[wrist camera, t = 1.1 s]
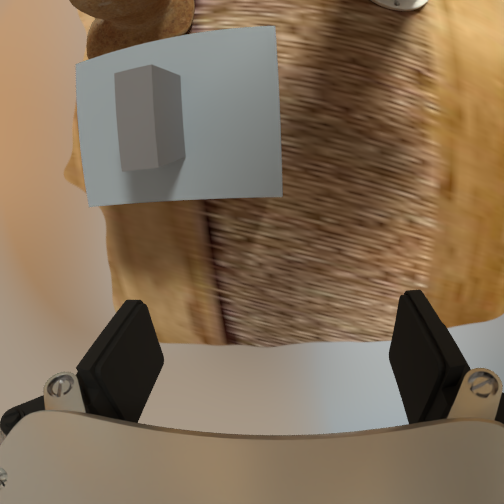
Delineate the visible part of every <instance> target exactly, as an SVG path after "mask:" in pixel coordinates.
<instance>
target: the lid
mask: <svg viewBox="0 0 504 504" xmlns="http://www.w3.org/2000/svg"><path fill="white" fill-rule="evenodd" d="M76 96H77V114H78V127H79V138H80V148H81V157H82V165H83V172H84V179H85V186H86V192H87V198H88V204H89V207H93V206H106V205H118V204H131V203H145V202H160V201H177V200H197V199H221V198H255V197H283V188H282V152H281V125H280V101H279V81H278V62H277V46H276V30H275V26H260V27H245V28H233V29H223V30H215V31H207V32H200V33H194V34H188V35H182V36H176V37H171V38H166V39H161V40H157V41H152V42H148V43H144V44H140V45H136V46H132V47H128V48H124V49H121V50H117V51H114V52H111V53H107V54H104V55H101V56H98V57H95V58H92V59H89V60H86V61H83V62H80V63H78V64H76Z"/></svg>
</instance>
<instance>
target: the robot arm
mask: <svg viewBox="0 0 504 504" xmlns="http://www.w3.org/2000/svg"><path fill="white" fill-rule="evenodd" d="M371 1H372V2H374V3H376V4H378V5H380V6H383V7H385V8H388V9H392V10H396V11H412V10H415V9H418V8H420V7H422V6H423V5H424V4H426V3H427V2H428V1H429V0H371ZM394 4H395V5H396V6H395V5H394ZM389 360H390V364H391V366H392V370H393V373H394V375H395V378H396V382H397V385H398V388H399V391H400V395H401V398H402V401H403V404H404V408H405V411H406V415H407V418H408V422H409V424H408V425H402V426H395V427H388V428H380V429H372V430H363V431H354V432H343V433H331V434H317V435H316V434H315V435H238V434H221V433H210V432H199V431H189V430H181V429H173V428H165V427H158V426H152V425H146V424H140V423H138V420H139V418H140V416H141V413H142V411H143V409H144V407H145V404H146V402H147V400H148V397H149V395H150V393H151V391H152V388H153V386H154V384H155V382H156V380H157V377H158V375H159V373H160V371H161V369H162V366H163V364H164V357H163V353H162V351H161V347H160V345H159V342H158V339H157V336H156V333H155V329H154V326H153V323H152V320H151V317H150V314H149V310H148V307H147V305H146V304H143V302H142V301H141V300H126V301H125V302H124V304H123V305H122V306H121V308H120V309H119V310H118V311H117V313H116V314H115V315H114V317H113V318H112V319H111V321H110V322H109V323H108V325H107V326H106V327H105V329H104V330H103V331H102V333H101V334H100V335H99V337H98V338H97V339H96V341H95V342H94V343H93V345H92V346H91V348H90V349H89V350H88V352H87V353H86V354H85V356H84V357H83V359H82V360H81V361H80V363H79V364H78V366H77V367H76V369H77V370H78V373H77V374H76V375H74V374H73V373H71V372H61V373H58V374H55V375H54V376H52V377H51V378H49V380H48V381H47V382H46V384H45V386H44V391H43V392H44V395H43V396H40V397H38V398H36V399H34V400H31V401H28V402H26V403H23V404H21V405H18V406H15V407H13V408H11V409H9V410H8V411H6V412H5V413H4V415H3V416H2V418H1V421H0V504H504V393H502V387H503V385H502V382H501V380H500V378H499V377H498V375H497V374H495V373H494V372H493V371H491V370H489V369H485V368H475V369H472V370H471V369H470V367H469V366H468V364H467V362H466V360H465V358H464V357H463V355H462V353H461V351H460V350H459V348H458V346H457V344H456V343H455V341H454V339H453V338H452V336H451V334H450V333H449V331H448V329H447V328H446V326H445V325H444V324H443V323H442V322H441V320H440V319H439V317H438V315H437V314H436V312H435V311H434V309H433V308H432V306H431V304H430V303H429V301H428V300H427V298H426V297H425V295H424V294H423V292H422V291H421V290H410V291H405V293H404V295H401V296H400V298H399V304H398V310H397V315H396V321H395V326H394V331H393V336H392V341H391V346H390V350H389Z"/></svg>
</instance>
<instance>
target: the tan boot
mask: <svg viewBox="0 0 504 504" xmlns="http://www.w3.org/2000/svg"><path fill="white" fill-rule="evenodd" d="M70 2H71V3H72V5H73V6H75V7H76V8H77V9H79V10H80V11H82V12H84V13H86V14H88V15H90V16H92V17H95V20H94V22H93V23H92V24H91V27H90V29H89V32H88V36H87V56H88V58H89V59H92V58H95V57H98V56H101V55H104V54H107V53H111V52H114V51H117V50H121V49H124V48H128V47H132V46H136V45H140V44H144V43H148V42H152V41H157V40H161V39H166V38H171V37H176V36H181V35H183V34H185V33H186V32H187V31H188V30H189V28H190V26H191V24H192V21H193V17H194V11H195V4H194V0H70Z"/></svg>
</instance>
